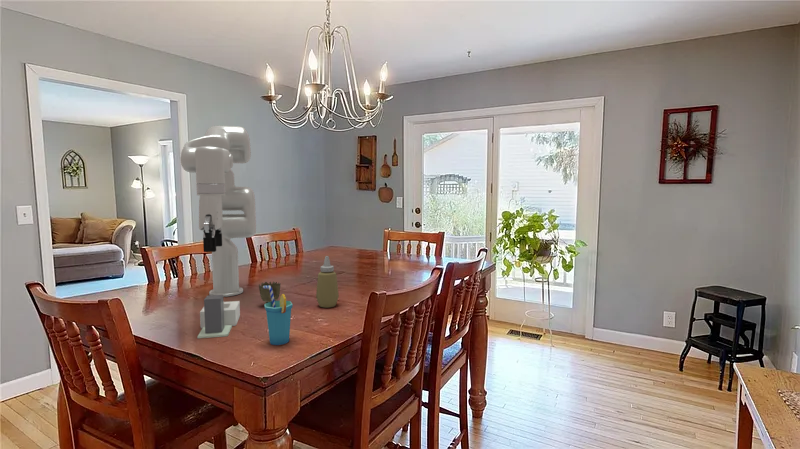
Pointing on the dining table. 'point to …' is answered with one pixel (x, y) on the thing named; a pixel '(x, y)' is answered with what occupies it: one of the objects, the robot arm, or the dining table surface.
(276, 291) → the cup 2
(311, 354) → the dining table surface
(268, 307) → the cup
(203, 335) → the mat
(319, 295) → the squeeze bottle
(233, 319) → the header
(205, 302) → the plug
